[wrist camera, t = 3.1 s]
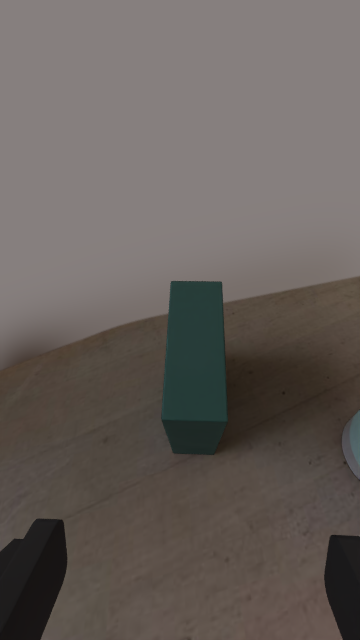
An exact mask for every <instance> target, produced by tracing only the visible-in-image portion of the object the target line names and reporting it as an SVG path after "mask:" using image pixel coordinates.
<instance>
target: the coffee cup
mask: <svg viewBox="0 0 360 640" xmlns="http://www.w3.org/2000/svg"><path fill="white" fill-rule="evenodd" d="M342 449H343V453H344V456H345V459H346V461H347V463H348V465H349V467H350V469H351V470H352V472H353V473H354V474H355V476H356V477H357V478H358V479H359V480H360V410H359V411H358V412H357V413H356V414H355V415H354V416H353V417H352V418H351V419H350V420H349V421H348V422H347V424H346V425H345V427H344V430H343V433H342Z"/></svg>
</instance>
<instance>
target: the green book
mask: <svg viewBox="0 0 360 640" xmlns="http://www.w3.org/2000/svg"><path fill="white" fill-rule="evenodd" d="M161 419H162V422H163V425H164V428H165V431H166V434H167V436H168V439H169V442H170V445H171V448H172V451H173V453H178V454H205V455H214V453H215V451H216V448H217V446H218V444H219V441H220V439H221V436H222V434H223V432H224V429H225V427H226V424H227V422H228V410H227V387H226V363H225V340H224V317H223V294H222V282H206V281H204V282H203V281H201V282H200V281H199V282H198V281H172V282H171V287H170V301H169V316H168V330H167V344H166V359H165V373H164V388H163V402H162V416H161Z"/></svg>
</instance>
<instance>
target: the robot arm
mask: <svg viewBox="0 0 360 640" xmlns="http://www.w3.org/2000/svg"><path fill="white" fill-rule="evenodd" d="M66 568H67V549H66V540H65V530H64V522H63V520H57V519H36V520H35V521H34V522H33V524H32V525H31V527H30V529H29V530H28V532H27V534H26V535H25V537H24V539H13V540H12V541H11V542H10V543H9V544H8V545H7V546H6V547H5V548H4V549H3V550H2V551H1V552H0V640H40V639H41V637H42V634H43V632H44V629H45V627H46V624H47V622H48V619H49V617H50V614H51V612H52V609H53V607H54V604H55V602H56V599H57V597H58V594H59V591H60V589H61V586H62V584H63V581H64V577H65V573H66ZM324 580H325V588H326V593H327V597H328V601H329V604H330V606H331V609H332V612H333V614H334V617H335V620H336V622H337V625H338V628H339V630H340V633H341V636H342V638H343V640H360V537H359V536H345V535H331V536H330V540H329V546H328V553H327V560H326V566H325V574H324Z"/></svg>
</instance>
